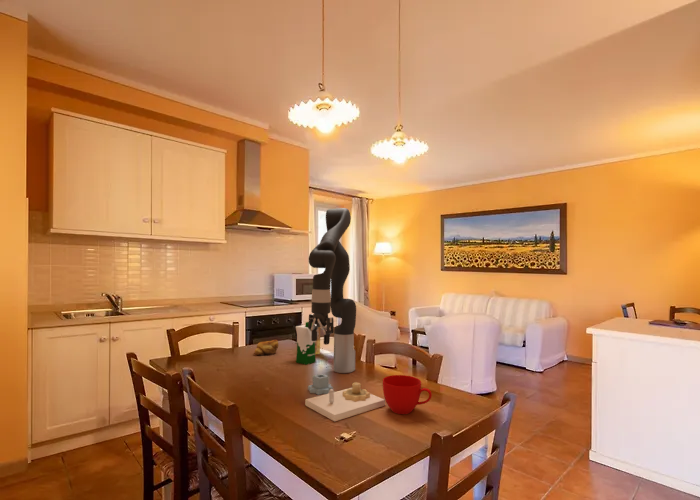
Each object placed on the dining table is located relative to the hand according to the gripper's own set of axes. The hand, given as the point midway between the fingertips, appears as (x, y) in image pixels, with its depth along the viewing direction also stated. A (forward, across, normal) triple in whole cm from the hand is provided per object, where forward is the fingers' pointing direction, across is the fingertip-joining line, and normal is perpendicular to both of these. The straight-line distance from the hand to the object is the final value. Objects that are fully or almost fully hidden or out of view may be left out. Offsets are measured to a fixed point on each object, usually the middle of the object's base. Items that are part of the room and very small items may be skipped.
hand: (320, 342), depth 146 cm
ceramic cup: (+19, -35, -12) cm, 42 cm away
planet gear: (+18, 0, -1) cm, 19 cm away
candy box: (+18, +52, -30) cm, 63 cm away
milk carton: (+18, +39, -18) cm, 47 cm away
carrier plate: (+19, -18, +1) cm, 26 cm away
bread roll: (+18, +67, -10) cm, 70 cm away
